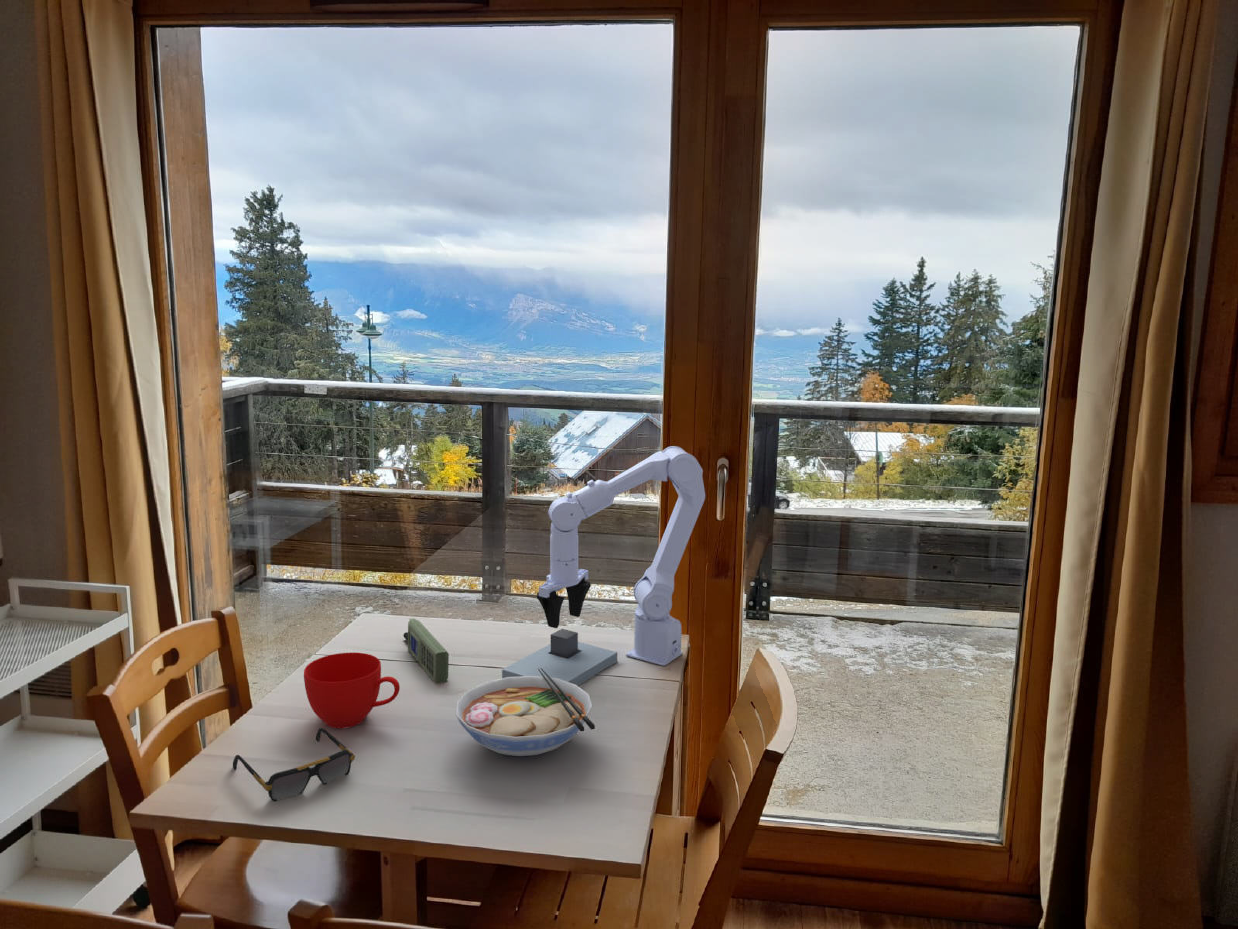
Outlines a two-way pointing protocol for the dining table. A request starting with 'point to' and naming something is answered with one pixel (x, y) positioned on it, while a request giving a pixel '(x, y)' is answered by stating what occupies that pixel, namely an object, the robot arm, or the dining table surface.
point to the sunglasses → (304, 772)
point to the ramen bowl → (524, 714)
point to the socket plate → (563, 664)
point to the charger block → (564, 643)
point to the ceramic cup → (345, 687)
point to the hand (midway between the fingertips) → (564, 621)
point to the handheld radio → (427, 651)
